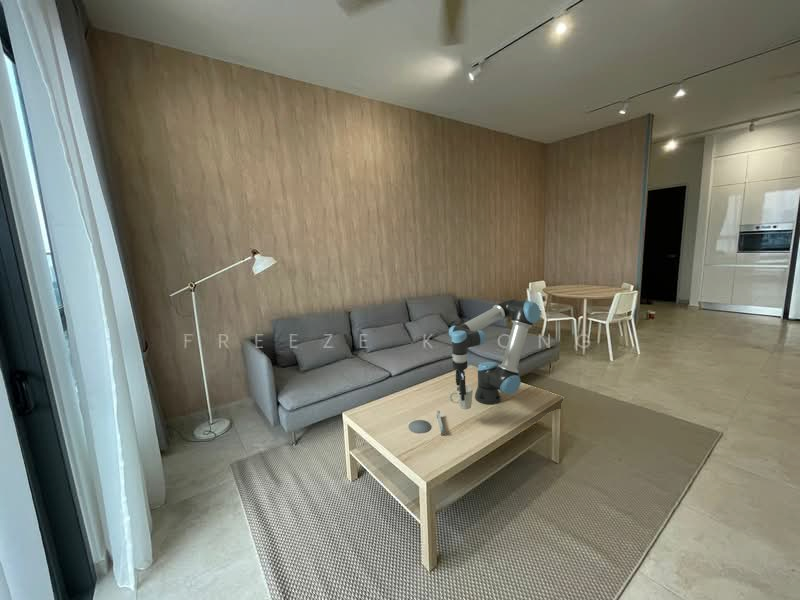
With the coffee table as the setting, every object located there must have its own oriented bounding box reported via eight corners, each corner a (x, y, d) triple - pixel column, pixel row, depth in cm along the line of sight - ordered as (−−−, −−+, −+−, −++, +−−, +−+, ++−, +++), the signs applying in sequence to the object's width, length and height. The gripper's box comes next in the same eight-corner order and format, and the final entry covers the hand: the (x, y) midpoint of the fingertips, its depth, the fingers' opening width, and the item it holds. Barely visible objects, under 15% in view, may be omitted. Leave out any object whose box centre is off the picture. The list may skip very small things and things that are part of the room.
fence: (439, 417, 177) (439, 410, 177) (444, 435, 160) (443, 428, 159) (436, 417, 177) (436, 410, 177) (440, 435, 160) (440, 428, 159)
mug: (473, 410, 163) (472, 392, 162) (449, 410, 166) (448, 392, 164) (473, 403, 171) (472, 385, 170) (449, 402, 174) (448, 385, 172)
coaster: (429, 420, 175) (429, 419, 175) (432, 432, 163) (432, 432, 163) (408, 421, 175) (408, 420, 175) (408, 433, 163) (408, 433, 163)
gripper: (449, 353, 174) (450, 392, 178) (456, 369, 153) (457, 411, 157) (463, 353, 174) (464, 391, 178) (471, 368, 153) (472, 411, 157)
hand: (461, 400), depth 168 cm, fingers closed on mug, 8 cm apart
